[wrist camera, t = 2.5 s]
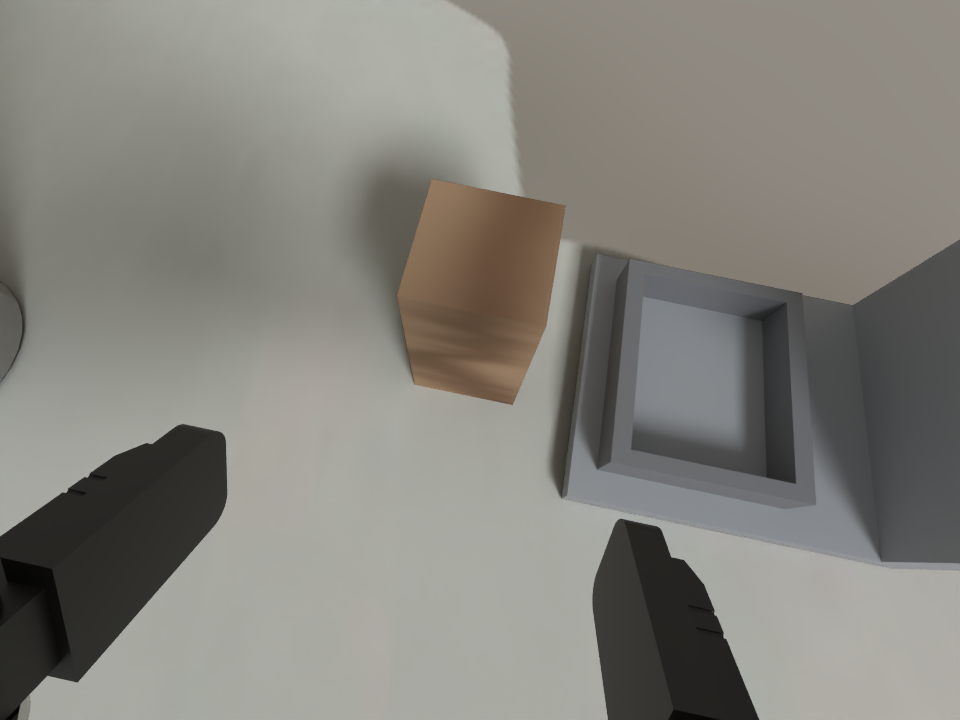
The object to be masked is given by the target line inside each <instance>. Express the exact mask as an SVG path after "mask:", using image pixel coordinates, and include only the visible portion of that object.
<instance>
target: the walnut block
mask: <svg viewBox="0 0 960 720" xmlns="http://www.w3.org/2000/svg"><path fill="white" fill-rule="evenodd" d="M564 213H565V205H560V204H555V203H550V202H544V201H540V200H534V199H530V198H525V197H520V196H515V195H510V194H505V193H500V192H495V191H490V190H485V189H480V188H475V187H470V186H465V185H460V184H455V183H450V182H445V181H440V180H435V179H432V181H431V184H430V187H429V191H428V194H427V197H426V200H425V204H424V207H423V210H422V214H421V217H420V220H419V224H418V227H417V230H416V233H415V237H414V240H413V243H412V247H411V250H410V253H409V257H408V260H407V263H406V266H405V270H404V273H403V276H402V280H401V283H400V286H399V290H398V293H397V299H398V304H399V309H400V314H401V319H402V324H403V329H404V334H405V339H406V344H407V349H408V354H409V359H410V364H411V369H412V374H413V378H414V383H415V385H420V386H424V387H429V388H434V389H439V390H444V391H448V392H453V393H458V394H463V395H468V396H472V397H477V398H482V399H487V400H492V401H497V402H501V403H506V404H511V405H513V403H514V400H515V398H516V396H517V393H518V391H519V389H520V386H521V384H522V382H523V379H524V377H525V374H526V372H527V370H528V367H529V365H530V363H531V360H532V358H533V356H534V353H535V351H536V349H537V346H538V344H539V342H540V339H541V337H542V335H543V332H544V330H545V328H546V324H547V318H548V312H549V305H550V299H551V293H552V287H553V281H554V275H555V268H556V262H557V256H558V250H559V244H560V238H561V231H562V225H563V219H564Z"/></svg>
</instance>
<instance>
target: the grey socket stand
mask: <svg viewBox="0 0 960 720" xmlns="http://www.w3.org/2000/svg"><path fill="white" fill-rule="evenodd" d="M561 498H562V499H566V500H571V501H576V502H580V503H585V504H590V505H595V506H599V507H604V508H609V509H614V510H618V511H623V512H628V513H633V514H637V515H642V516H647V517H652V518H656V519H661V520H666V521H670V522H675V523H680V524H685V525H689V526H694V527H699V528H704V529H708V530H713V531H718V532H723V533H727V534H732V535H737V536H741V537H746V538H751V539H756V540H760V541H765V542H770V543H775V544H779V545H784V546H789V547H794V548H798V549H803V550H808V551H812V552H817V553H822V554H827V555H831V556H836V557H841V558H846V559H850V560H855V561H860V562H865V563H869V564H874V565H879V566H883V567H888V568H896V569H928V570H959V571H960V240H958V241H957V242H955V243H954V244H952V245H950V246H949V247H947V248H945V249H944V250H942V251H940V252H939V253H937V254H936V255H934V256H932V257H931V258H929V259H927V260H926V261H924V262H923V263H921V264H919V265H918V266H916V267H914V268H913V269H911V270H910V271H908V272H906V273H905V274H903V275H902V276H900V277H898V278H897V279H895V280H893V281H892V282H890V283H889V284H887V285H885V286H884V287H882V288H880V289H879V290H877V291H875V292H874V293H872V294H871V295H869V296H867V297H866V298H864V299H863V300H861V301H860V302H858V303H856V304H854V305H848V304H843V303H839V302H833V301H829V300H824V299H819V298H814V297H809V296H804V295H802V294H801V293H798V292H792V291H787V290H783V289H777V288H773V287H767V286H763V285H757V284H753V283H747V282H743V281H738V280H733V279H728V278H723V277H717V276H713V275H708V274H703V273H698V272H693V271H688V270H683V269H678V268H673V267H668V266H664V265H659V264H654V263H649V262H644V261H639V260H634V259H629V260H625V259H620V258H615V257H610V256H605V255H600V254H597V256H596V258H595V260H594V262H593V264H592V266H591V273H590V280H589V288H588V296H587V304H586V311H585V319H584V327H583V335H582V342H581V350H580V358H579V366H578V373H577V381H576V389H575V397H574V404H573V412H572V420H571V428H570V435H569V443H568V451H567V459H566V466H565V474H564V482H563V490H562V497H561Z"/></svg>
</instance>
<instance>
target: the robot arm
mask: <svg viewBox="0 0 960 720" xmlns="http://www.w3.org/2000/svg"><path fill="white" fill-rule="evenodd" d="M21 336H22V315H21V311H20V308H19V305H18V302H17V300H16V299H15V297H14V296H13V294H12V293H11V291H10V290H9V289H8V288H7V287H6V286H4V285H3V284H2V283H1V282H0V381H1V380H2V378H3V377H4V376H5V374H6V373H7V372H8V370H9V368H10V366H11V364H12V362H13V360H14V358H15V356H16V354H17V352H18V348H19V344H20V340H21ZM226 499H227V467H226V440H225V437H224V435H223V434H222V433H221V432H218V431H213V430H209V429H204V428H199V427H195V426H190V425H185V424H182V425H178V426H176V427H175V428H173V429H172V430H171V431H169V432H168V433H167V434H165V435H164V436H163V437H161V438H160V439H159V440H157V441H156V442H155V443H153V444H148V443H145V444H143V445H140V446H138V447H136V448H133V449H131V450H128V451H126V452H123V453H121V454H118V455H116V456H114V457H112V458H111V459H110V460H108V461H107V462H105V463H104V464H103V465H101V466H100V467H98V468H97V469H95V470H94V471H93V472H91V473H90V475H89V477H88V478H86V477H84V478H83V479H81V480H80V481H78V482H77V483H76V484H74V485H73V486H71V487H70V488H68V491H67V493H61V494H60V495H59V496H57V497H56V498H54V499H53V500H51V501H50V502H49V503H47V504H46V505H44V506H43V507H41V508H40V509H39V510H37V511H36V512H34V513H33V514H32V515H30V516H29V517H27V518H26V519H24V520H23V521H22V522H20V523H19V524H17V525H16V526H14V527H13V528H12V529H10V530H9V531H7V532H6V533H5V534H3V535H2V536H0V720H28V718H29V713H30V705H31V701H30V696H29V694H30V693H31V692H32V691H33V690H34V689H35V688H36V687H37V686H38V685H39V684H40V683H41V682H42V681H43V680H44V679H45V678H46V676H51V677H56V678H60V679H65V680H69V681H73V682H78V681H79V680H80V679H81V678H82V677H83V676H84V674H85V673H86V672H87V671H88V670H89V669H90V668H91V666H92V665H93V664H94V663H95V662H96V661H97V660H98V658H99V657H100V656H101V655H102V654H103V653H104V652H105V650H106V649H107V648H108V647H109V646H110V645H111V644H112V642H113V641H114V640H115V639H116V638H117V637H118V635H119V634H120V633H121V632H122V631H123V630H124V629H125V627H126V626H127V625H128V624H129V623H130V622H131V621H132V619H133V618H134V617H135V616H136V615H137V614H138V613H139V611H140V610H141V609H142V608H143V607H144V606H145V605H146V603H147V602H148V601H149V600H150V599H151V598H152V597H153V595H154V594H155V593H156V592H157V591H158V590H159V589H160V587H161V586H162V585H163V584H164V583H165V582H166V580H167V579H168V578H169V577H170V576H171V575H172V574H173V572H174V571H175V570H176V569H177V568H178V567H179V566H180V564H181V563H182V562H183V561H184V560H185V559H186V558H187V556H188V555H189V554H190V553H191V552H192V551H193V550H194V548H195V547H196V546H197V545H198V544H199V543H200V542H201V540H202V539H203V538H204V537H205V536H206V535H207V534H208V532H209V531H210V530H211V529H212V528H213V527H214V525H215V524H216V523H217V521H218V520H219V518H220V516H221V514H222V512H223V509H224V507H225V504H226ZM593 614H594V621H595V628H596V636H597V643H598V650H599V657H600V665H601V672H602V679H603V686H604V694H605V701H606V708H607V715H608V720H759V718H758V716H757V713H756V711H755V708H754V706H753V704H752V701H751V699H750V696H749V694H748V691H747V689H746V686H745V684H744V682H743V679H742V677H741V674H740V672H739V669H738V667H737V664H736V662H735V660H734V657H733V655H732V652H731V650H730V647H729V645H728V642H727V640H726V639H724V638H723V634H724V633H723V630H722V628H721V625H720V623H719V620H718V618H717V616H714V608H713V606H712V603H711V601H710V598H709V596H708V593H707V591H706V589H705V586H704V584H703V583H702V582H701V580H700V579H699V578H698V577H697V576H696V574H695V573H694V572H693V571H692V569H691V568H690V567H689V566H688V564H687V563H686V562H685V561H684V560H681V559H676V558H672V557H671V556H670V553H669V550H668V547H667V544H666V541H665V539H664V536H663V533H662V531H661V529H660V528H659V527H657V526H652V525H647V524H643V523H638V522H633V521H629V520H624V519H619V520H618V521H617V522H616V524H615V526H614V528H613V531H612V534H611V536H610V539H609V542H608V544H607V547H606V550H605V552H604V555H603V558H602V560H601V563H600V566H599V568H598V571H597V574H596V577H595V581H594V587H593Z"/></svg>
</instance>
